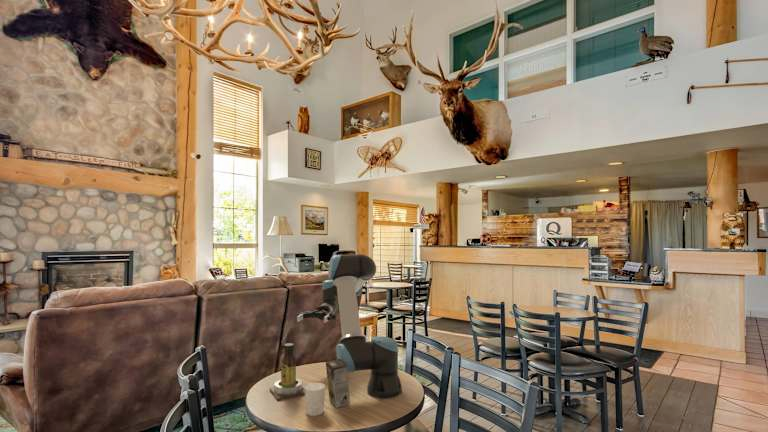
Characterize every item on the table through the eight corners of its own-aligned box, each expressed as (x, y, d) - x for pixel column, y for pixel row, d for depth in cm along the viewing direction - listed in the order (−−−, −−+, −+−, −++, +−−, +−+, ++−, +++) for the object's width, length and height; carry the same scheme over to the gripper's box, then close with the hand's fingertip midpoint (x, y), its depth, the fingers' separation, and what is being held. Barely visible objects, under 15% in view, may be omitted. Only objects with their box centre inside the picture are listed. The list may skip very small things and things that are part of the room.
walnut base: (307, 394, 177) (307, 392, 177) (277, 400, 170) (277, 398, 171) (297, 384, 188) (297, 382, 188) (269, 390, 182) (269, 387, 182)
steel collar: (305, 391, 177) (305, 384, 177) (279, 397, 172) (279, 390, 172) (296, 383, 187) (296, 376, 187) (271, 388, 181) (271, 381, 182)
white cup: (320, 417, 156) (320, 391, 156) (301, 415, 157) (301, 389, 157) (327, 408, 163) (327, 383, 164) (308, 407, 165) (309, 381, 165)
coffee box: (328, 399, 172) (325, 361, 171) (343, 395, 174) (339, 358, 174) (335, 408, 163) (331, 368, 163) (350, 404, 166) (347, 364, 166)
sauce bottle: (279, 388, 181) (280, 342, 182) (294, 386, 184) (294, 341, 184) (282, 393, 175) (282, 346, 176) (296, 391, 178) (297, 345, 178)
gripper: (346, 319, 219) (335, 328, 198) (301, 317, 223) (286, 326, 202) (346, 305, 219) (336, 312, 198) (301, 304, 223) (286, 311, 202)
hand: (311, 319), depth 200 cm, fingers open, 13 cm apart
